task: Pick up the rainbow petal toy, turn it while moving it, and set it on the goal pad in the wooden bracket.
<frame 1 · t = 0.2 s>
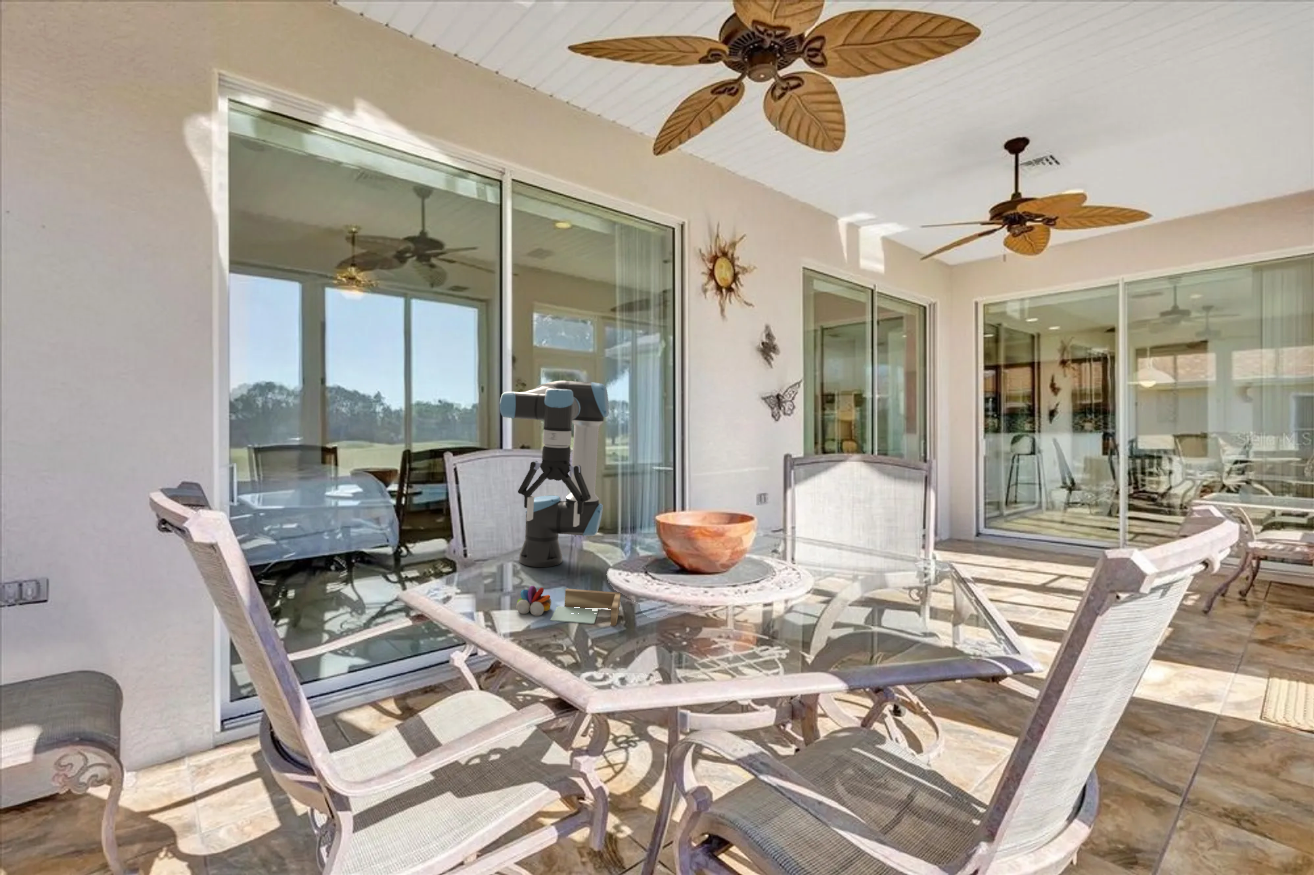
hand: (552, 522, 169), 27 cm above the table, fingers open, 13 cm apart
goal pad: (575, 615, 174), on the table
rainbow petal toy: (533, 612, 175), on the table
wooden bracket: (589, 615, 175), on the table
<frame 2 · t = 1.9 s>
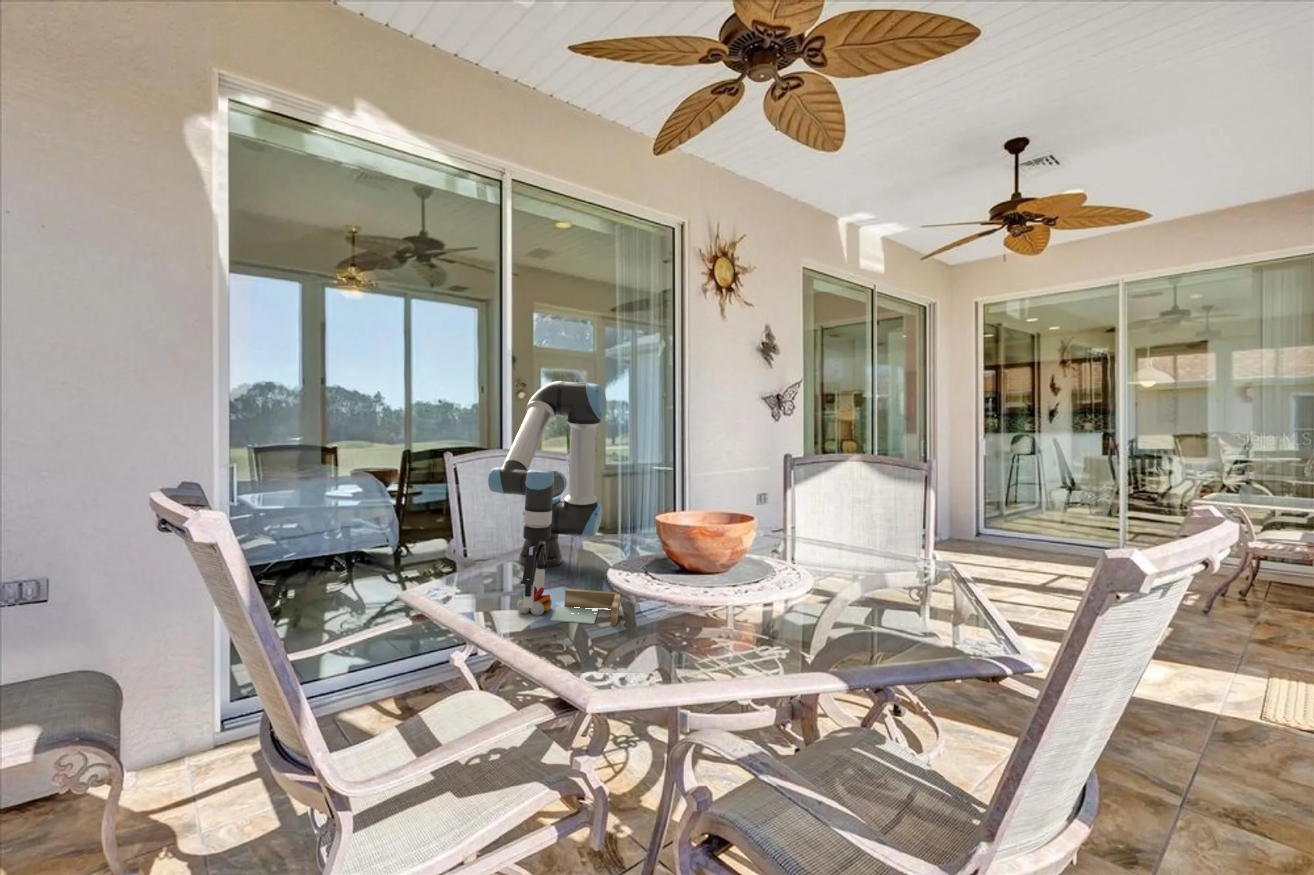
hand: (533, 598, 174), 4 cm above the table, fingers open, 13 cm apart
nothing on the table moved.
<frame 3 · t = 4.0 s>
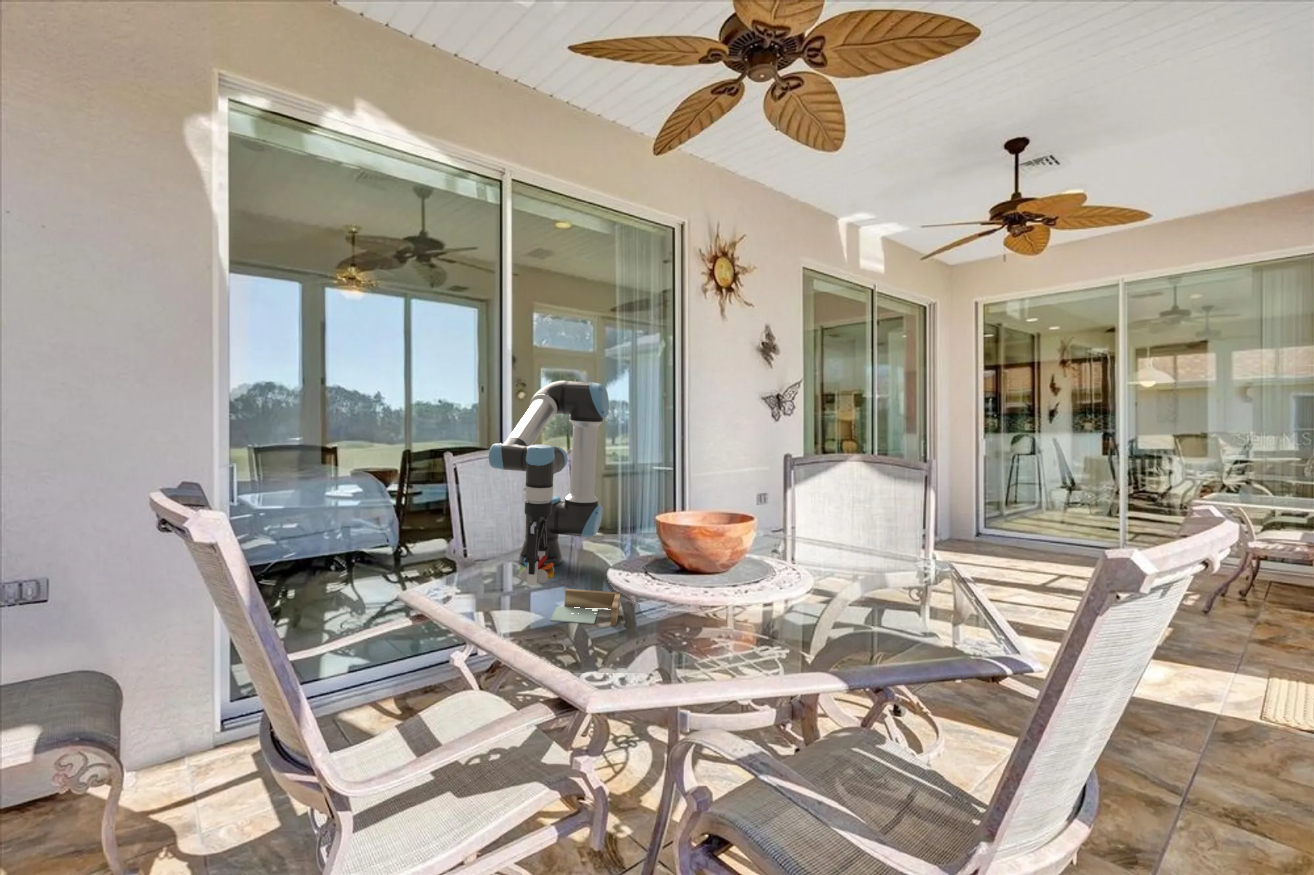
hand: (535, 578, 175), 9 cm above the table, fingers closed on rainbow petal toy, 9 cm apart
rainbow petal toy: (536, 580, 175), point 9 cm above the table, touching gripper
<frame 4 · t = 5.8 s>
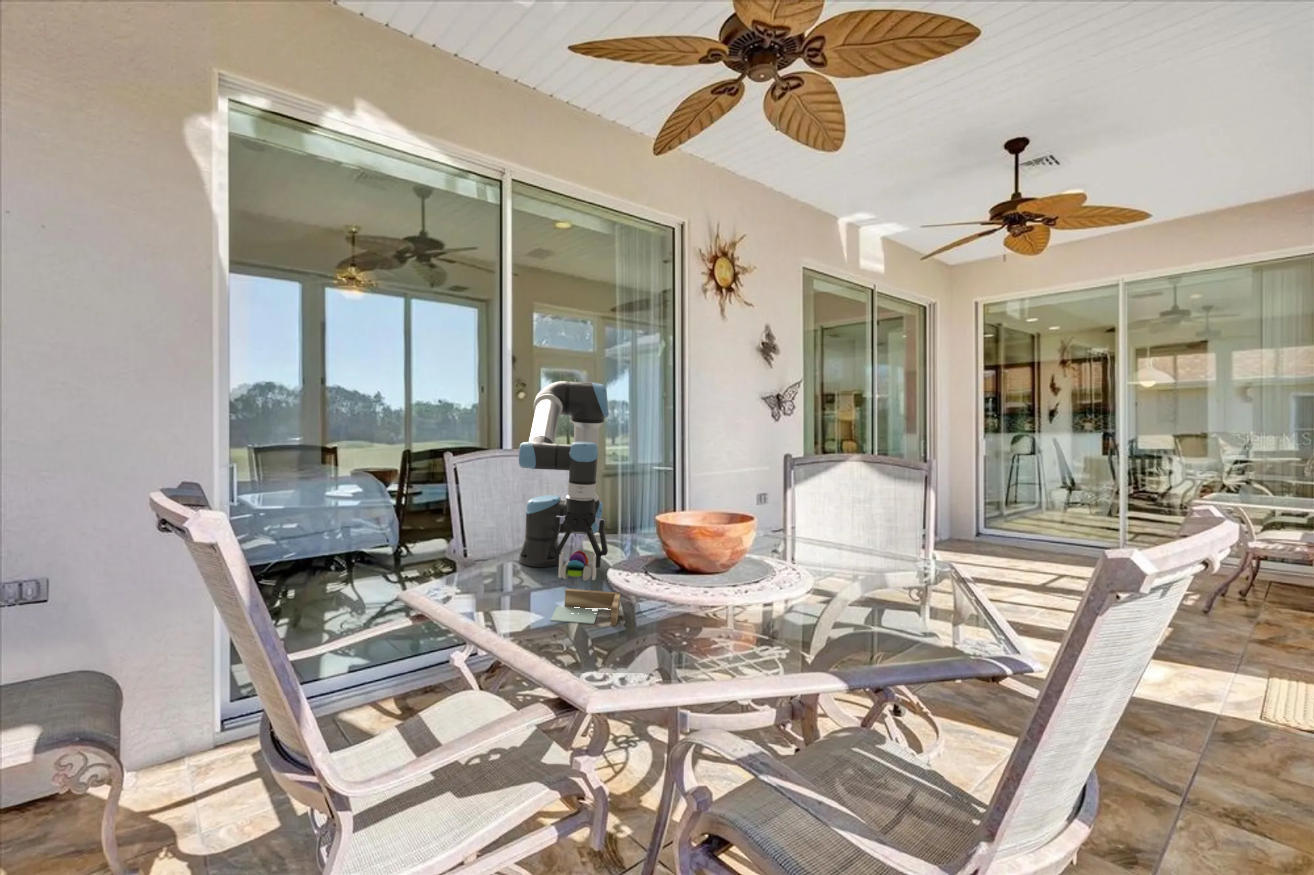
hand: (577, 577, 173), 11 cm above the table, fingers closed on rainbow petal toy, 9 cm apart
rainbow petal toy: (577, 578, 173), point 11 cm above the table, touching gripper
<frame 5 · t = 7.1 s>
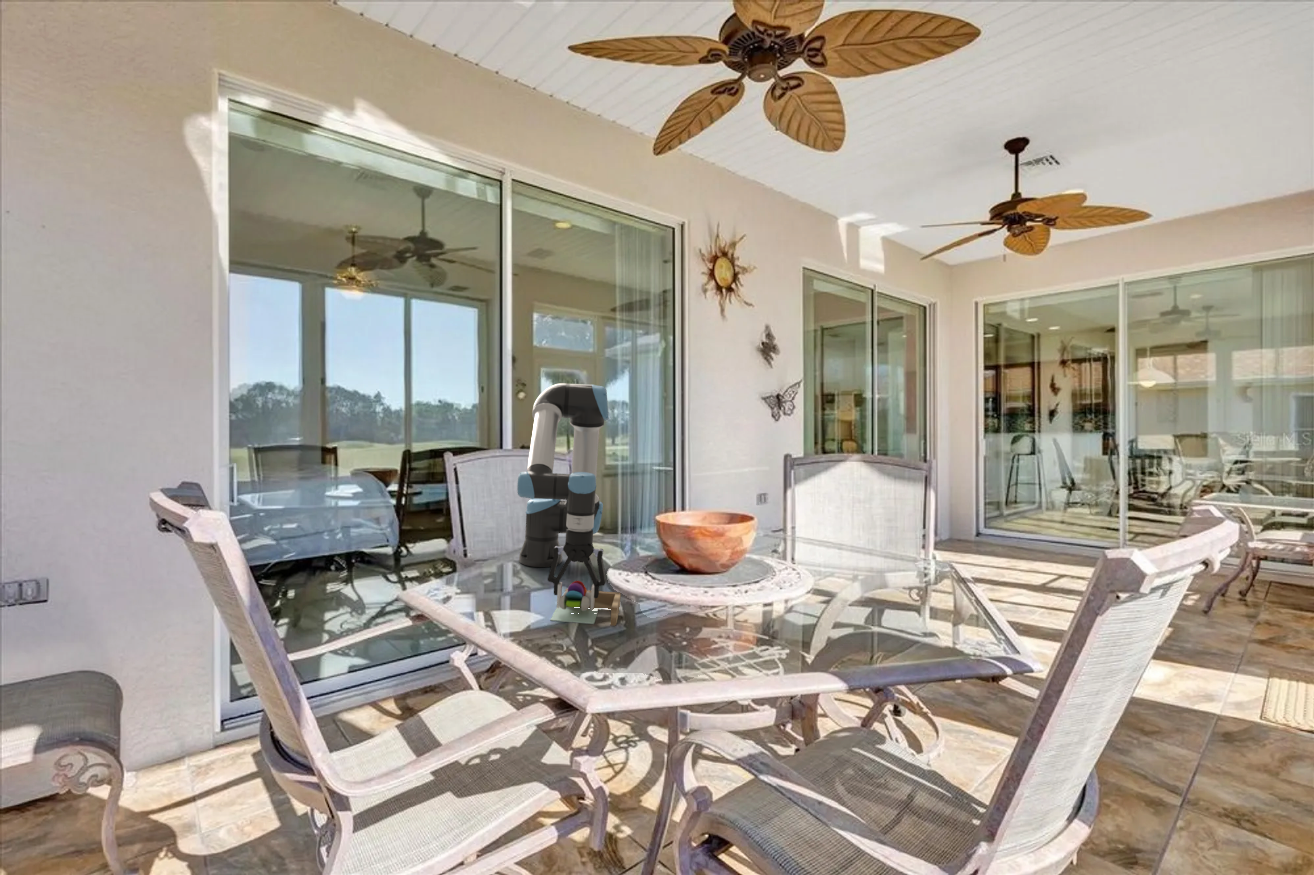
hand: (575, 607, 174), 2 cm above the table, fingers closed on rainbow petal toy, 9 cm apart
rainbow petal toy: (575, 607, 174), point 2 cm above the table, touching gripper
when the fingers open (1 cm above the table, at t = 7.9 s): rainbow petal toy stays where it is, resting on goal pad.
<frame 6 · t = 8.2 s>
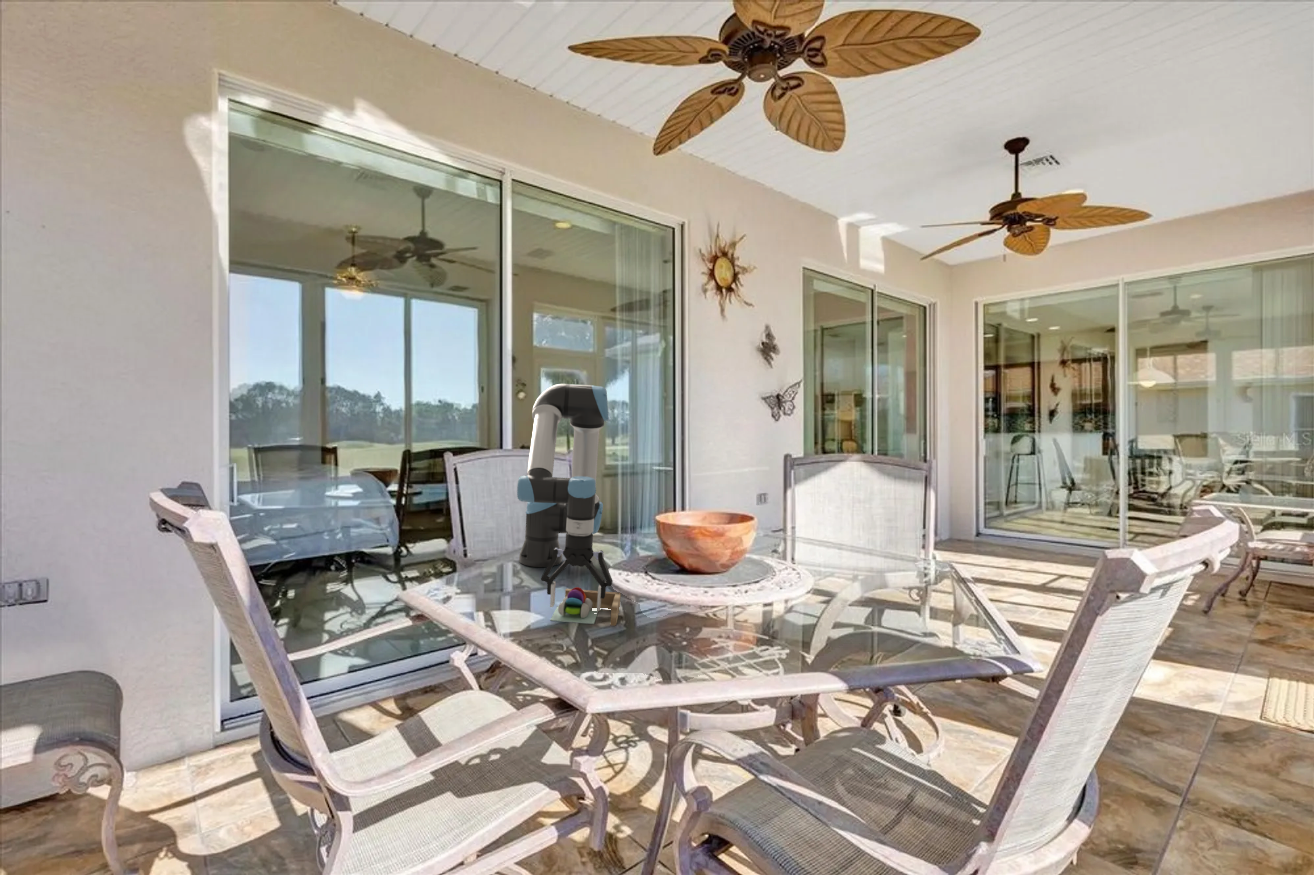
hand: (575, 607, 174), 2 cm above the table, fingers open, 12 cm apart
rainbow petal toy: (575, 614, 174), resting on goal pad
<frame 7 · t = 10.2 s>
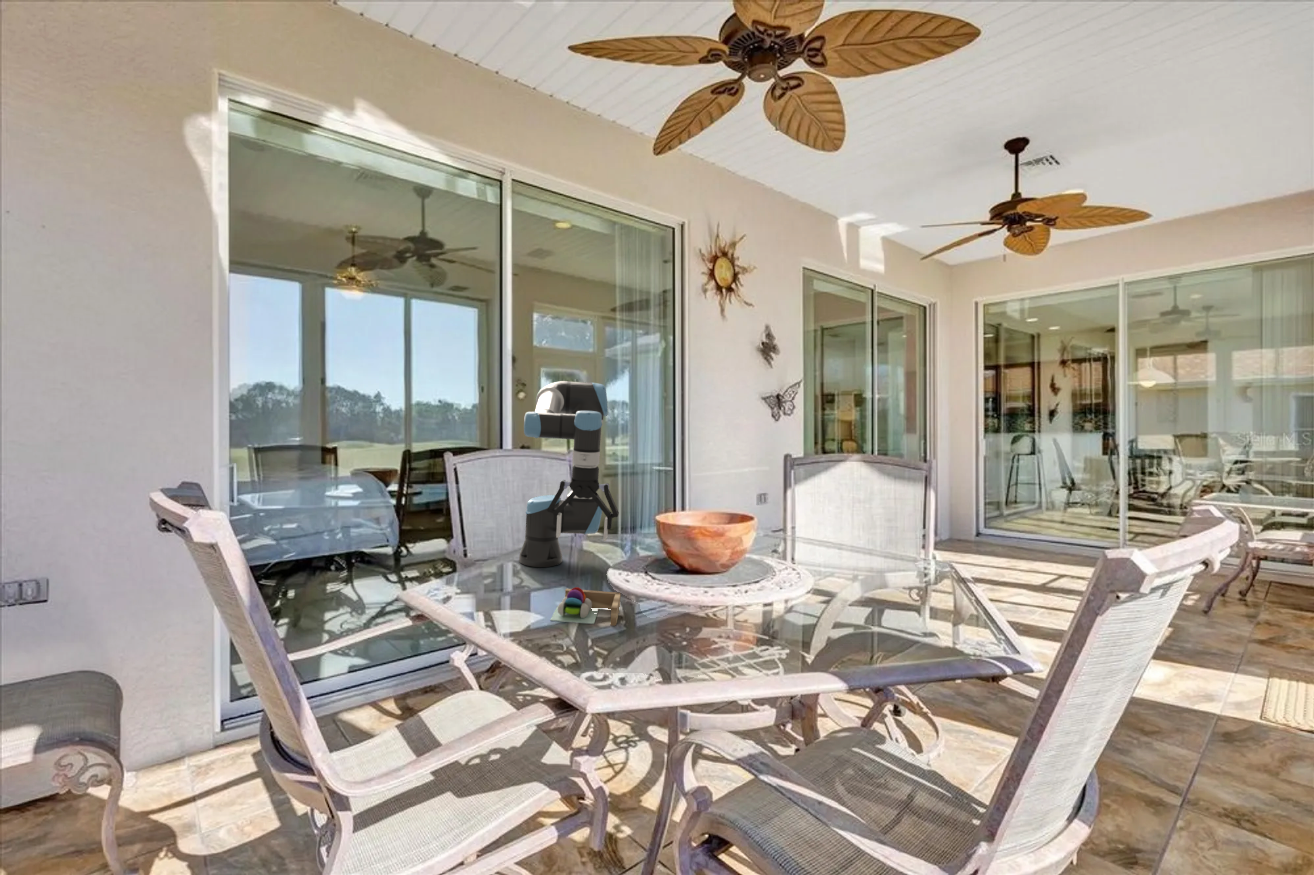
hand: (581, 538, 178), 21 cm above the table, fingers open, 13 cm apart
nothing on the table moved.
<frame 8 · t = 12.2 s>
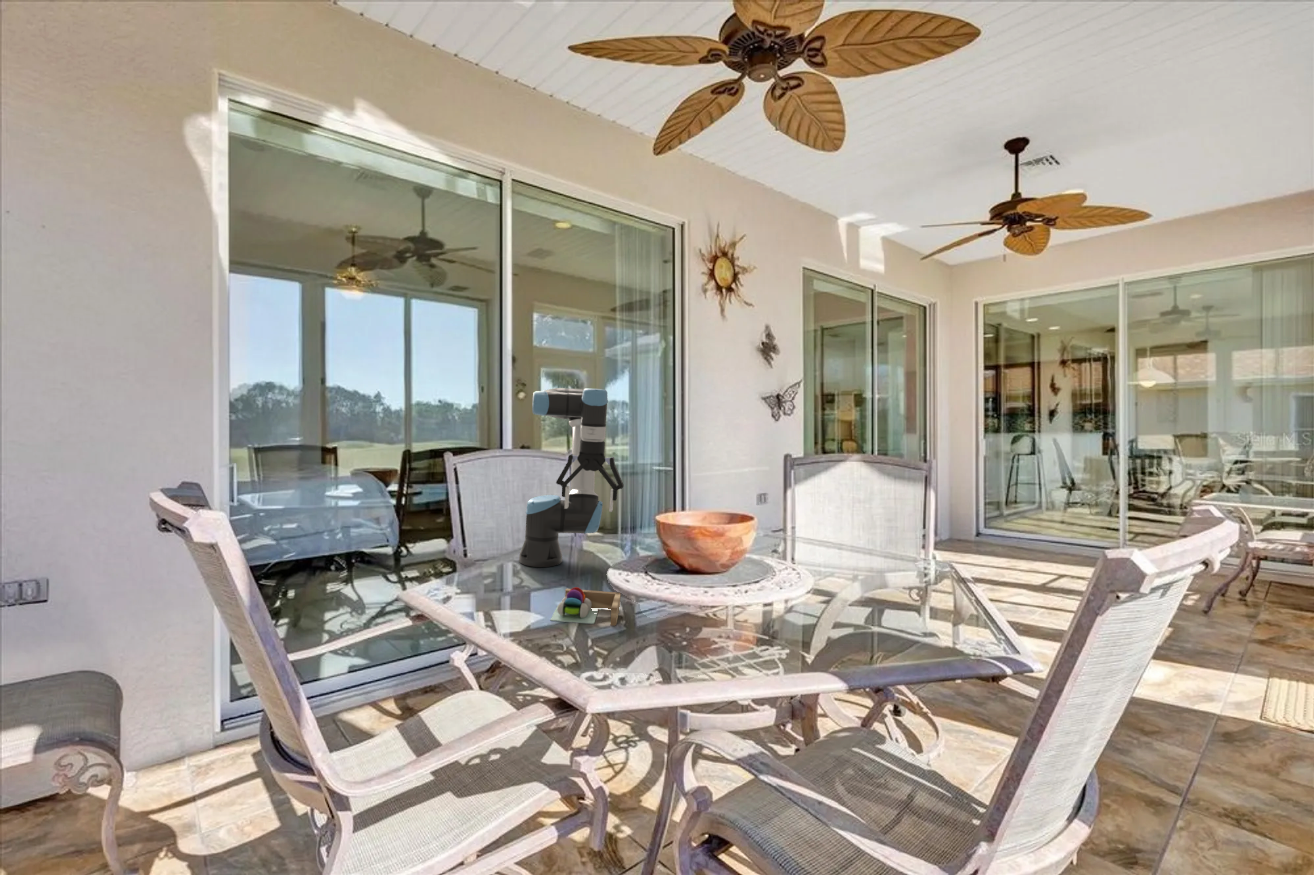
hand: (588, 509, 188), 27 cm above the table, fingers open, 13 cm apart
nothing on the table moved.
at the end: rainbow petal toy inside the target area on the goal pad (0.4 cm from its centre), point 0.1 cm above the goal pad's base; rainbow petal toy tilted 0°; the gripper is holding nothing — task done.
